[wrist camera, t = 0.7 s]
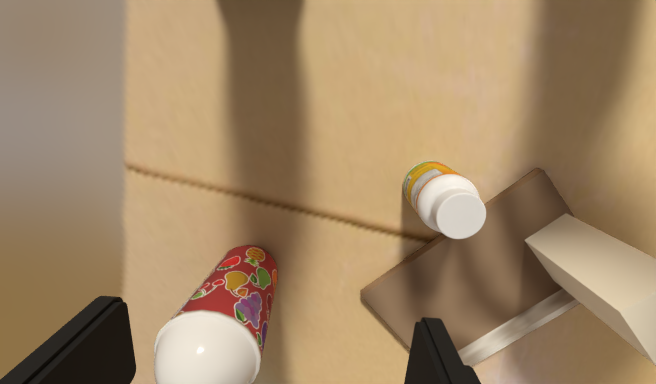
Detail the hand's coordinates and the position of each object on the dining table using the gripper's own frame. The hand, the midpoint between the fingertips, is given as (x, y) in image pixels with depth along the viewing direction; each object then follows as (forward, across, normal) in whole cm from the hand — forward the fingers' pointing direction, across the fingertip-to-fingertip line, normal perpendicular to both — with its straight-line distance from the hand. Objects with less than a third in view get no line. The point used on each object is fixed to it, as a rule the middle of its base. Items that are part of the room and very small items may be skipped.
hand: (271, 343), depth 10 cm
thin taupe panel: (+25, -20, +11) cm, 34 cm away
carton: (+24, -28, +7) cm, 37 cm away
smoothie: (+25, +7, +12) cm, 29 cm away
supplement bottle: (+25, -12, +1) cm, 28 cm away
